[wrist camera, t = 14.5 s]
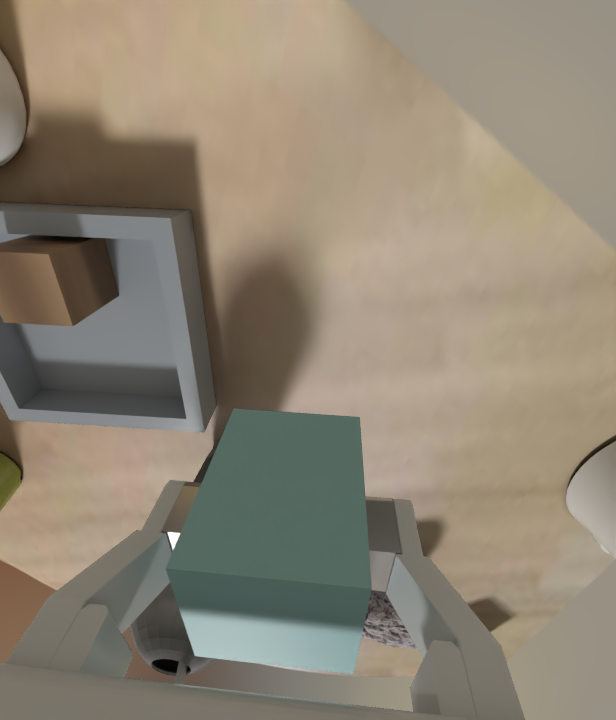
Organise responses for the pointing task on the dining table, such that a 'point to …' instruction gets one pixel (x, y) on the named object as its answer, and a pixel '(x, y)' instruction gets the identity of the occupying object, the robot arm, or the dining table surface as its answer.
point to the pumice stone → (385, 623)
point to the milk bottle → (10, 112)
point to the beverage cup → (168, 628)
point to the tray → (115, 328)
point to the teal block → (278, 544)
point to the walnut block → (54, 279)
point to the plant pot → (8, 479)
